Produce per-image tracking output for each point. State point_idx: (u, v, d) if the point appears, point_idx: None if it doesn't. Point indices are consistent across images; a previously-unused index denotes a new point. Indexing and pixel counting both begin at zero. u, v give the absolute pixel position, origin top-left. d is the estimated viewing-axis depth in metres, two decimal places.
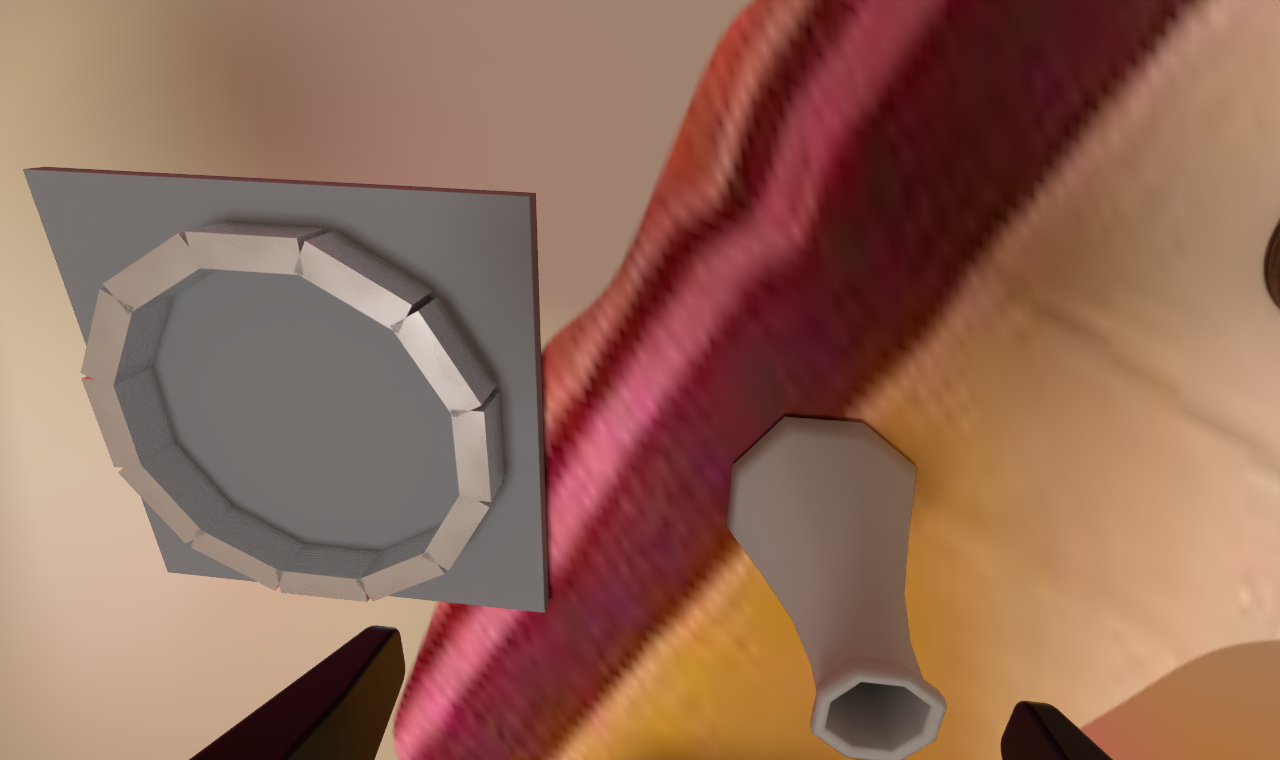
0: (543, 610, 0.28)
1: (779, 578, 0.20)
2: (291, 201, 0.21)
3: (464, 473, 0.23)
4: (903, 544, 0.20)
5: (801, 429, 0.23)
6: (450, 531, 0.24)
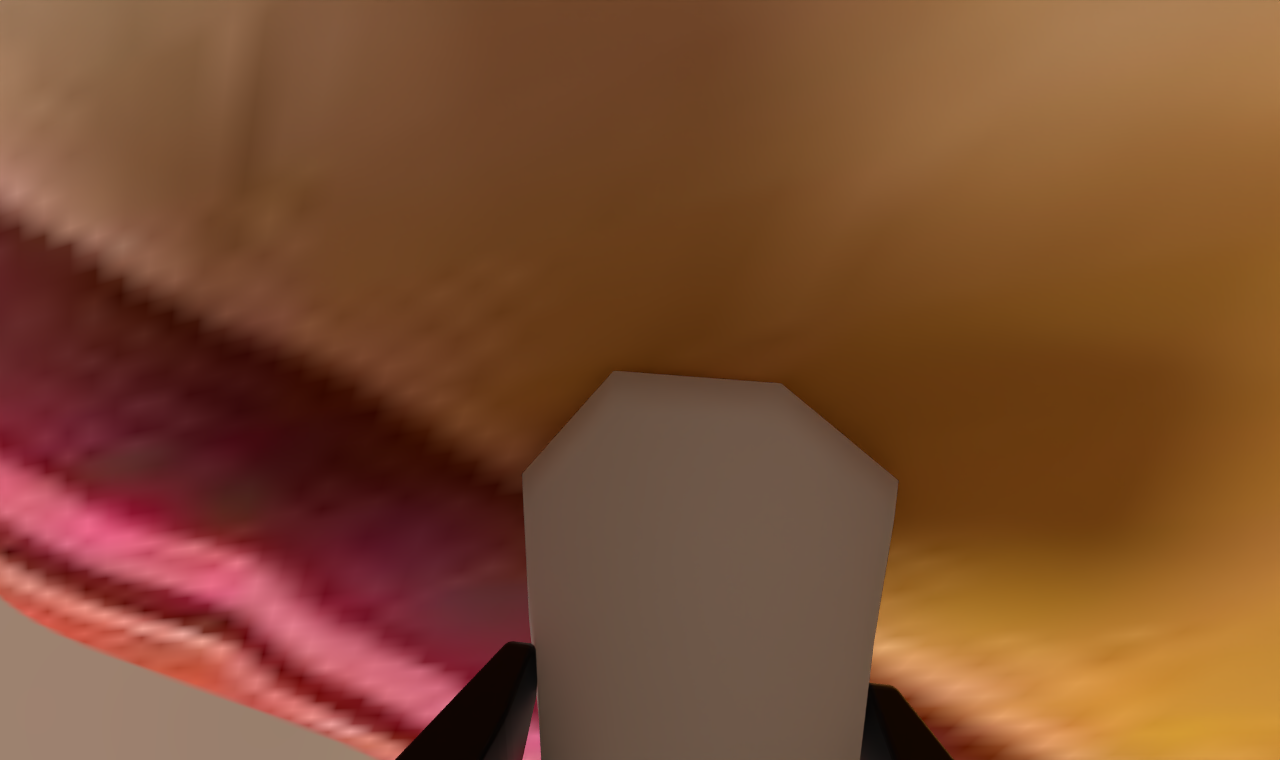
0: None
1: None
2: None
3: None
4: (609, 613, 0.08)
5: None
6: None
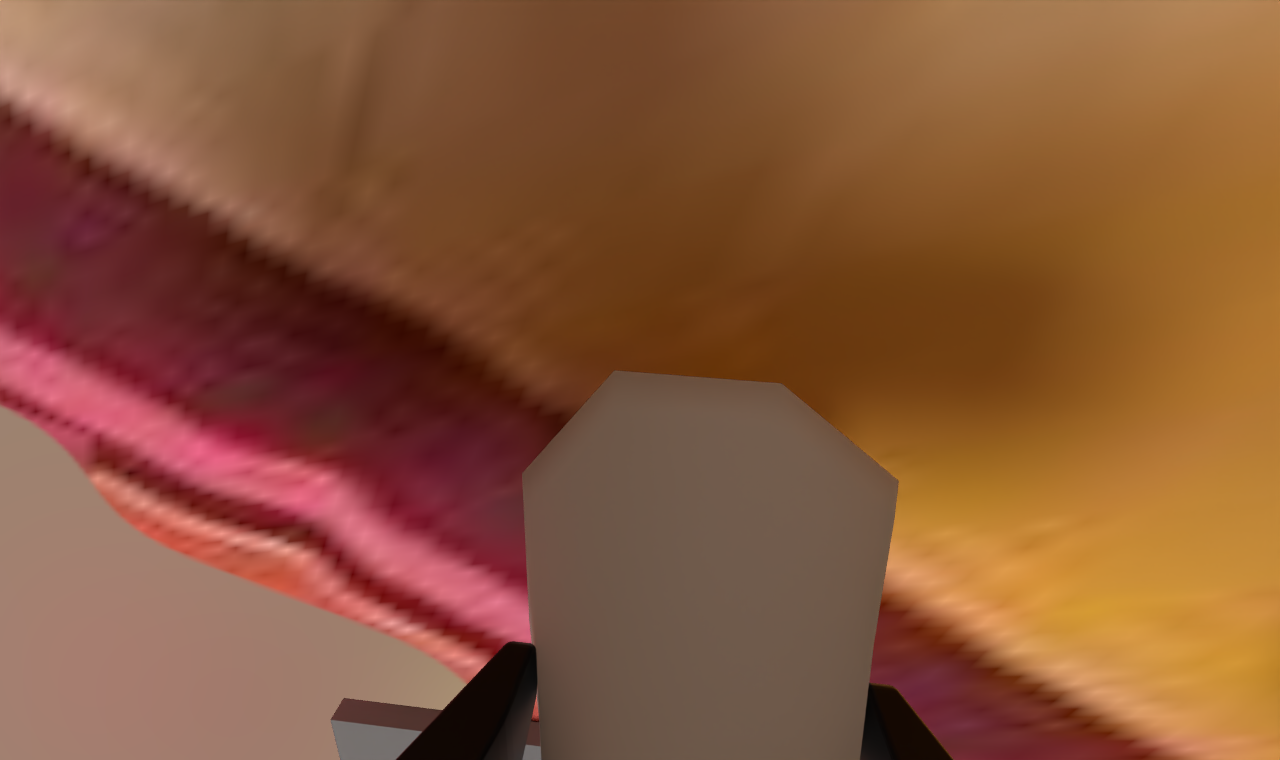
0: None
1: None
2: None
3: None
4: (610, 613, 0.08)
5: None
6: None
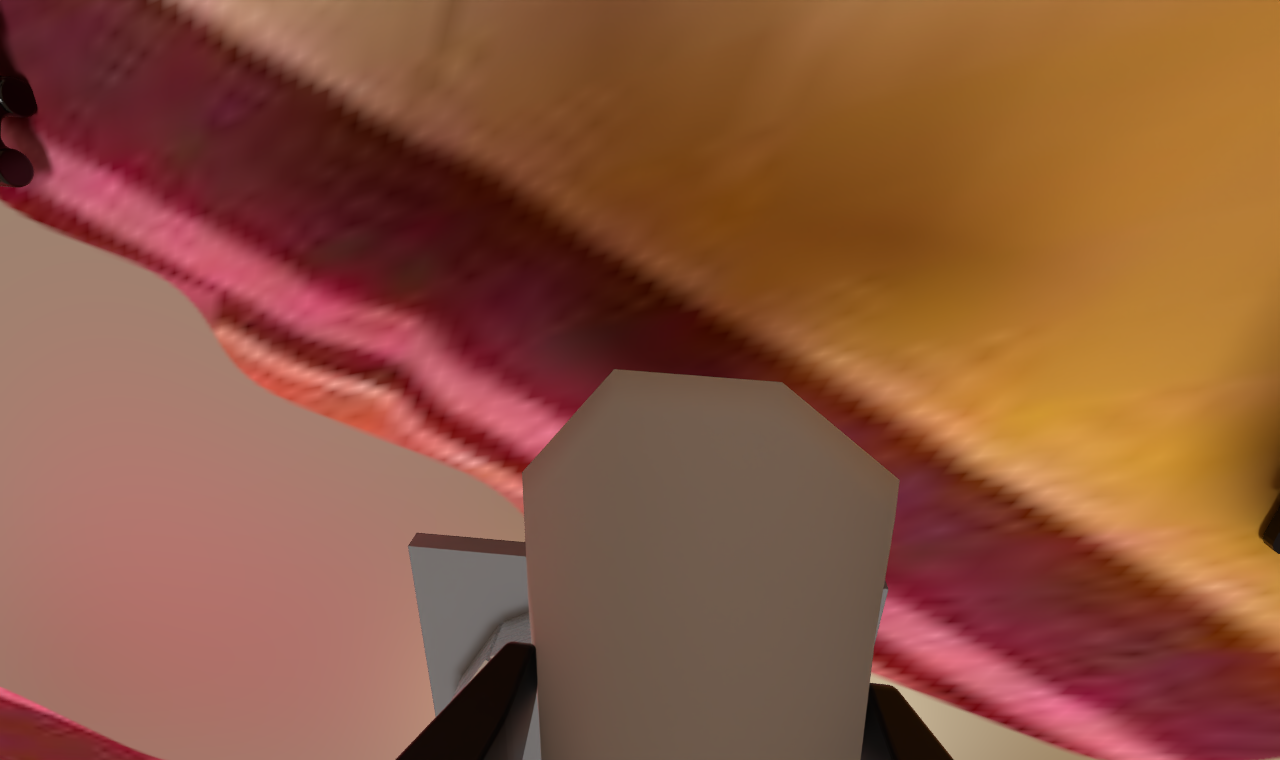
0: (884, 589, 0.22)
1: None
2: (445, 697, 0.27)
3: None
4: (610, 612, 0.08)
5: None
6: None
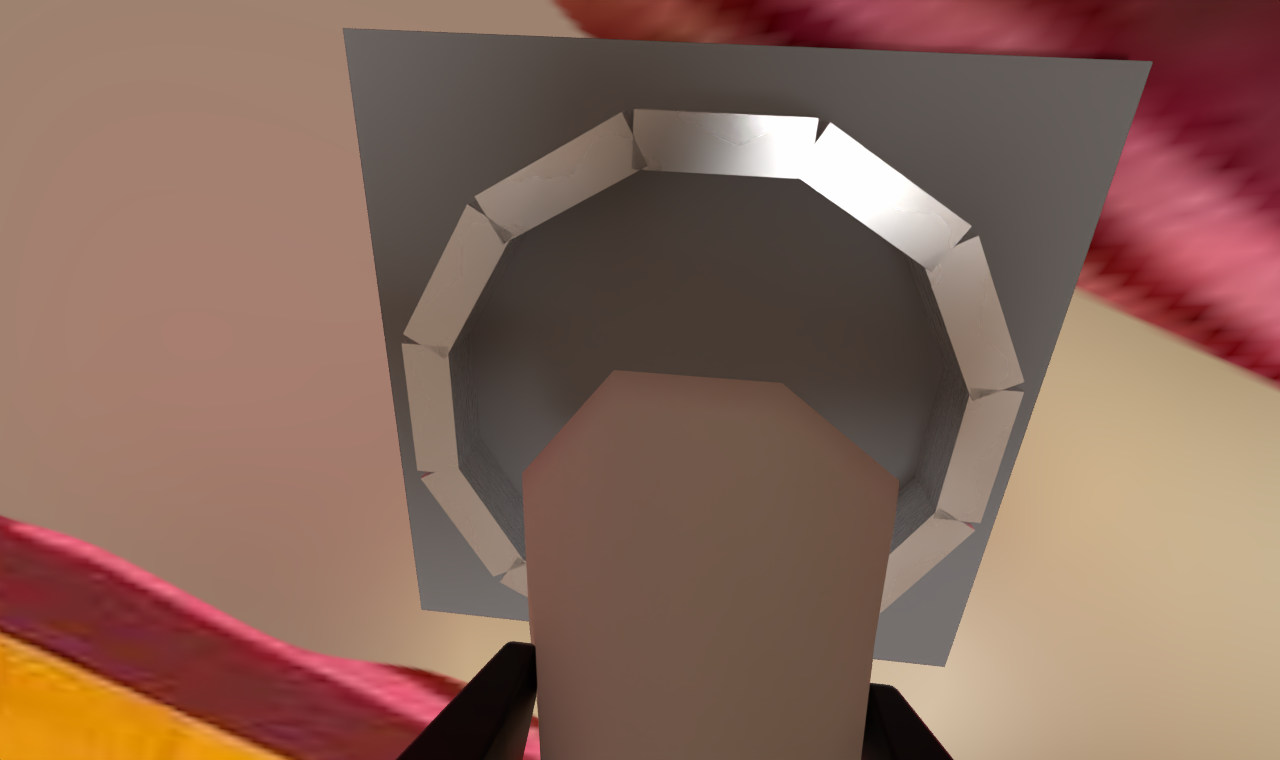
0: (1146, 62, 0.13)
1: None
2: None
3: (756, 162, 0.13)
4: (609, 613, 0.08)
5: None
6: (879, 208, 0.13)
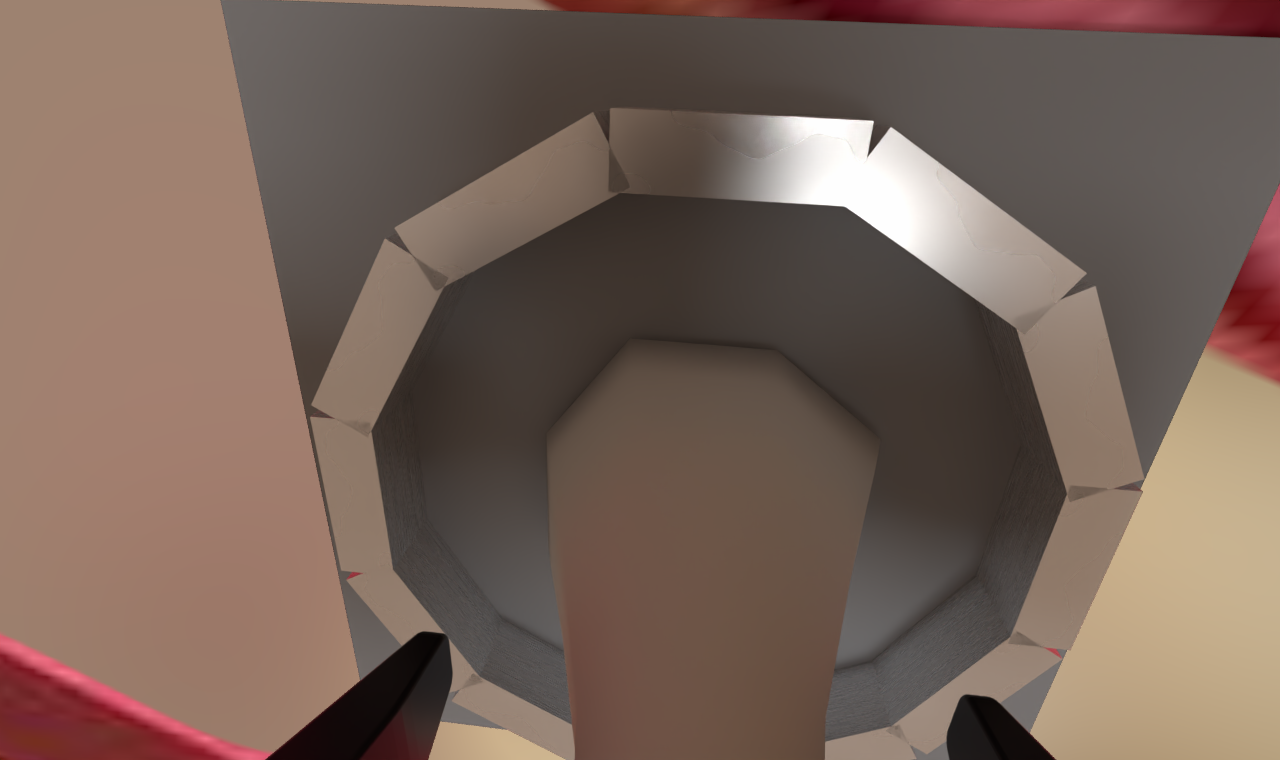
0: None
1: None
2: None
3: (783, 183, 0.09)
4: (629, 525, 0.09)
5: (549, 537, 0.14)
6: (956, 247, 0.09)
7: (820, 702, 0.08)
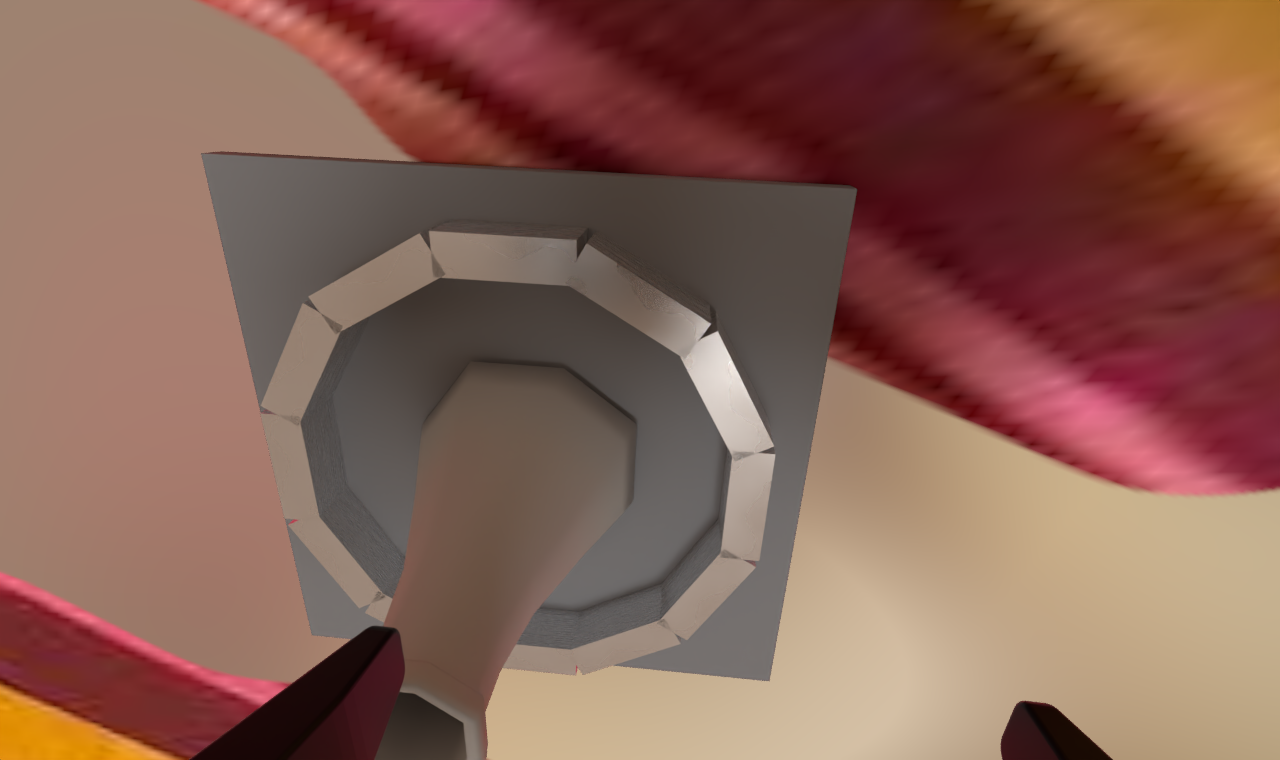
0: (852, 189, 0.16)
1: None
2: None
3: (532, 273, 0.16)
4: (443, 476, 0.16)
5: None
6: (636, 309, 0.16)
7: (531, 564, 0.14)
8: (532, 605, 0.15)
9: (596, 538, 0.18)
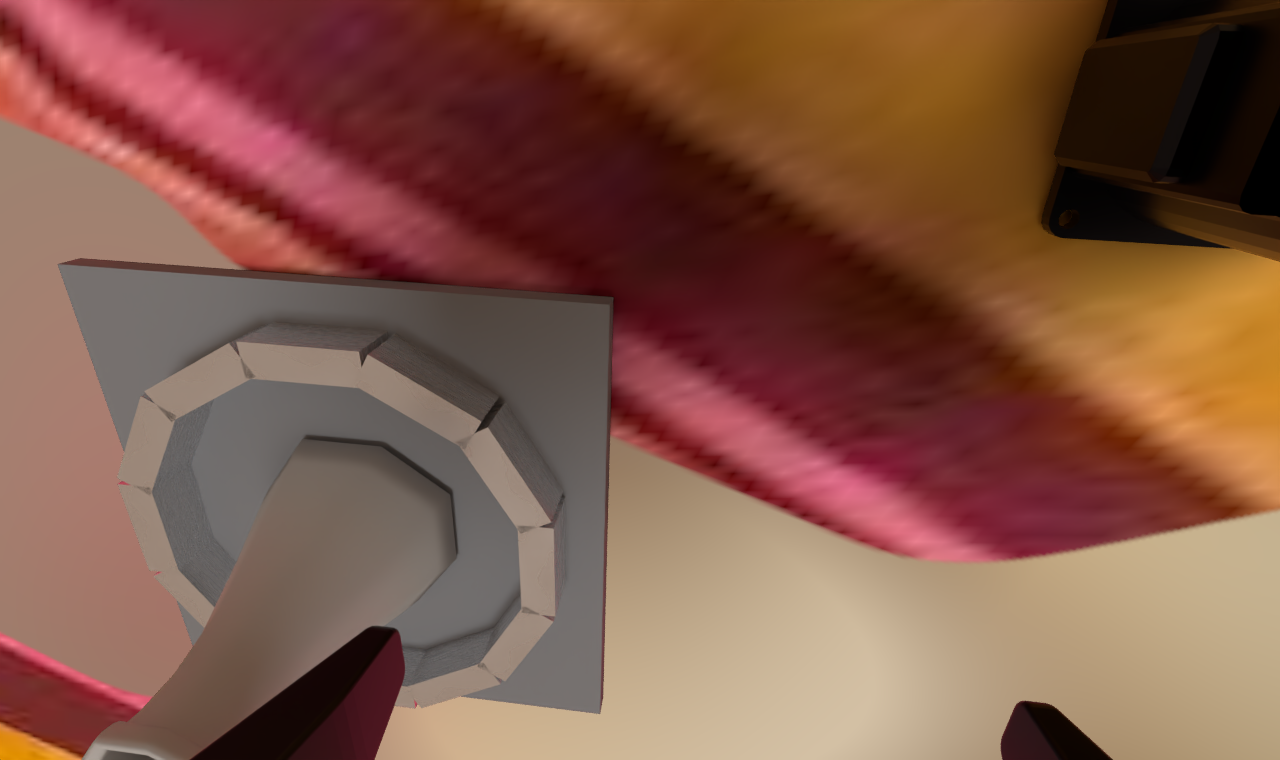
0: (605, 305, 0.19)
1: None
2: None
3: (326, 377, 0.19)
4: (247, 551, 0.18)
5: None
6: (417, 408, 0.19)
7: (305, 632, 0.17)
8: (310, 666, 0.17)
9: (402, 598, 0.21)
